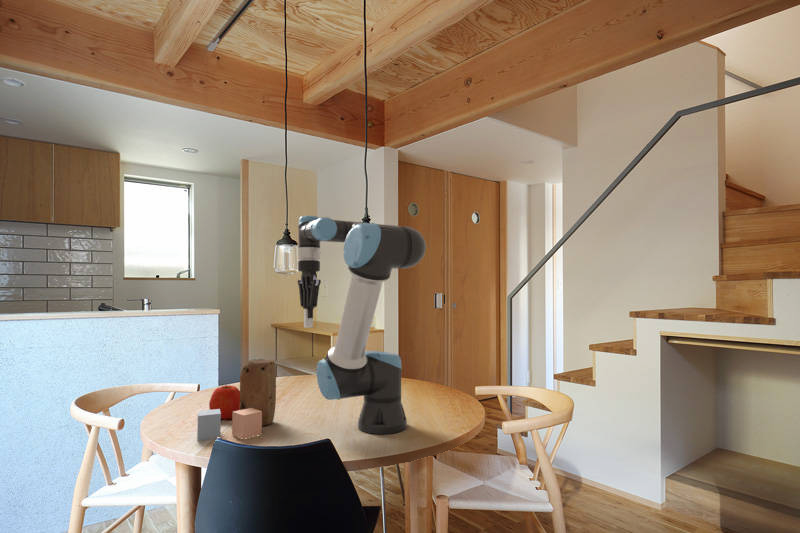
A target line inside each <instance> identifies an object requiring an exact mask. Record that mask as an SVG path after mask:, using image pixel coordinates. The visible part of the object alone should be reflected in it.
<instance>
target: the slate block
mask: <svg viewBox="0 0 800 533" xmlns="http://www.w3.org/2000/svg"><path fill="white" fill-rule="evenodd" d="M221 420H222V419H221V412H220V409H213V410H210V409H204V410H198V411H197V433H196V435H197V442H198V441H199V442H201V441H209V440H216V439H215V438H217V437H220V438H221V427H222V426H221V423H222V422H221Z"/></svg>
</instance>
